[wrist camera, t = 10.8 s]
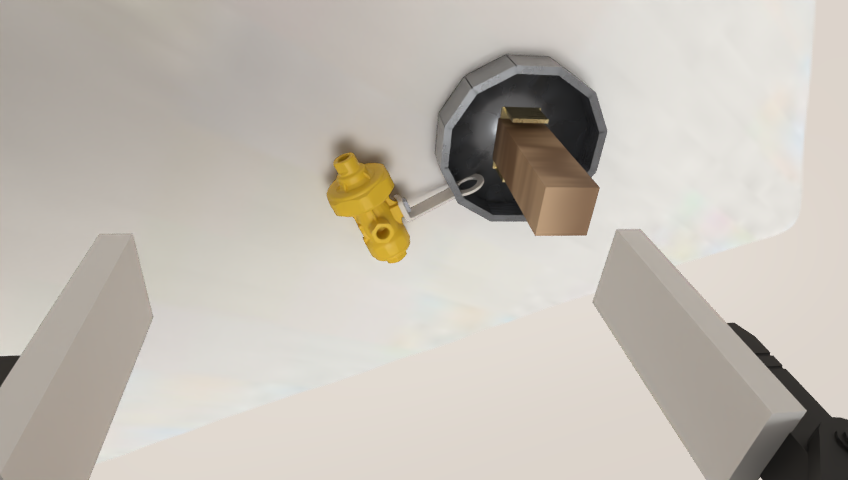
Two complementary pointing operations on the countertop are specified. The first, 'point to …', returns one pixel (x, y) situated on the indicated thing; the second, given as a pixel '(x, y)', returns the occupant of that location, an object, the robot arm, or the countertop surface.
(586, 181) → the wooden beam block
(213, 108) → the countertop surface
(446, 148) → the tin
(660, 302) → the robot arm
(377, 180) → the pressure relief valve
